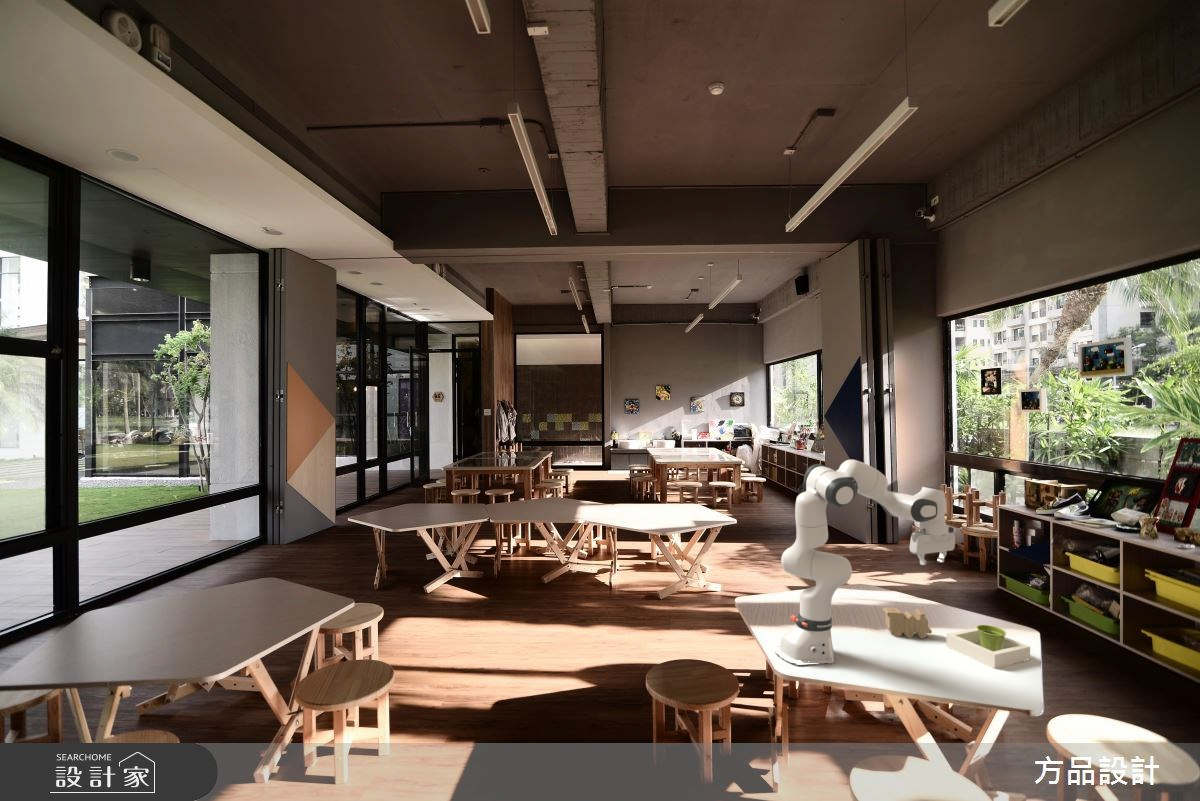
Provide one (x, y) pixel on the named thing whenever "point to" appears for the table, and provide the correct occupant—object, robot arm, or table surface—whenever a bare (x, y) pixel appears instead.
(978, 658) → the cream open tray
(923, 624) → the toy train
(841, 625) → the table surface
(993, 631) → the plant pot
